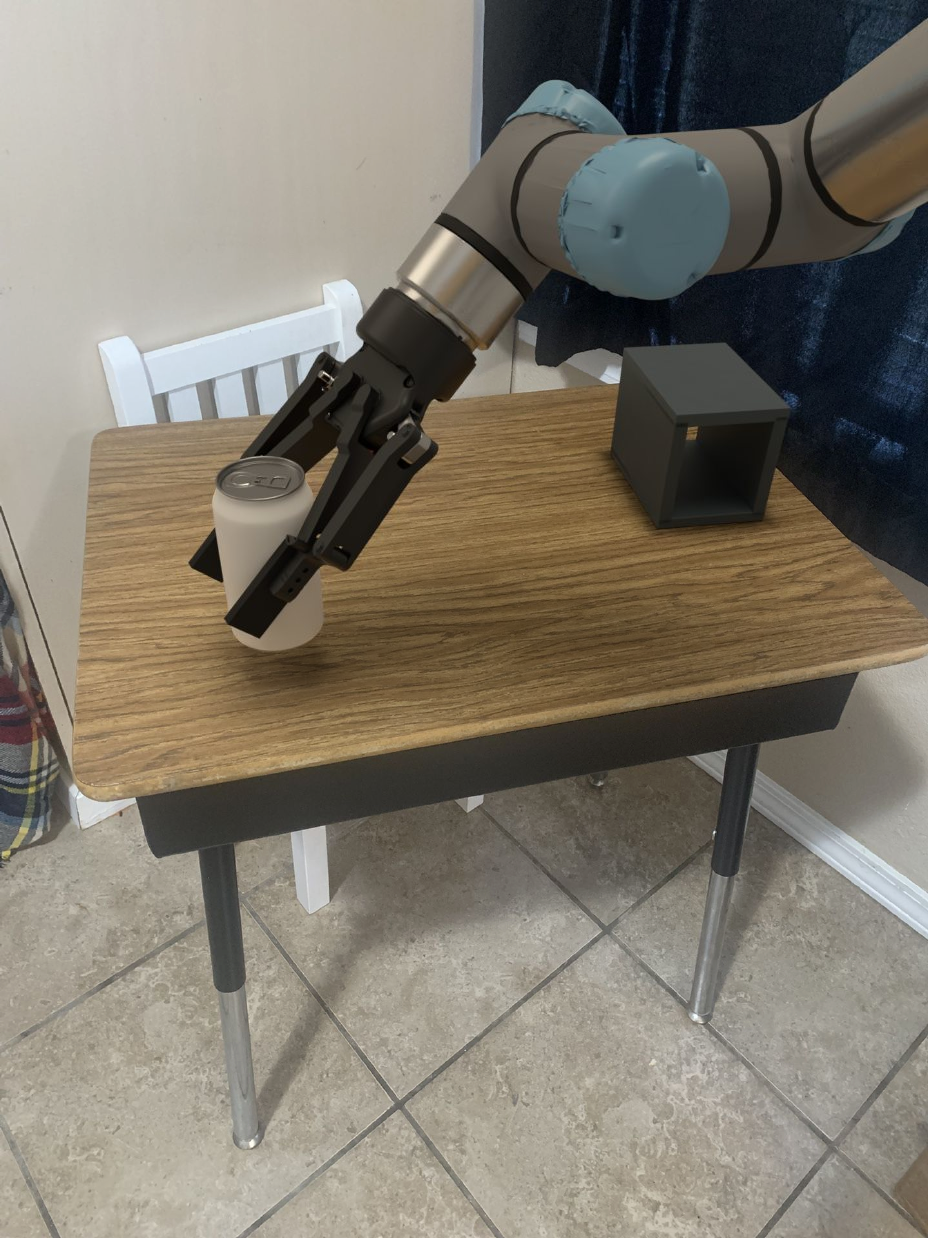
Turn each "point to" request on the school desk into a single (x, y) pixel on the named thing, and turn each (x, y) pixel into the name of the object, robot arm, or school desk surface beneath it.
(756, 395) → the shelf
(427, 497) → the school desk surface
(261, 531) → the can
